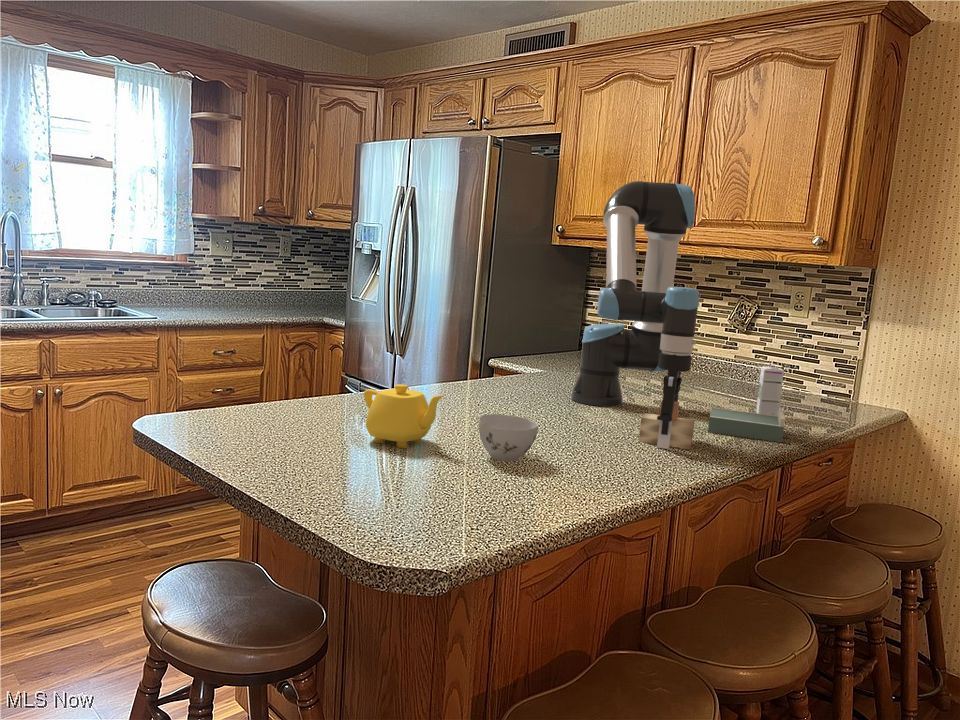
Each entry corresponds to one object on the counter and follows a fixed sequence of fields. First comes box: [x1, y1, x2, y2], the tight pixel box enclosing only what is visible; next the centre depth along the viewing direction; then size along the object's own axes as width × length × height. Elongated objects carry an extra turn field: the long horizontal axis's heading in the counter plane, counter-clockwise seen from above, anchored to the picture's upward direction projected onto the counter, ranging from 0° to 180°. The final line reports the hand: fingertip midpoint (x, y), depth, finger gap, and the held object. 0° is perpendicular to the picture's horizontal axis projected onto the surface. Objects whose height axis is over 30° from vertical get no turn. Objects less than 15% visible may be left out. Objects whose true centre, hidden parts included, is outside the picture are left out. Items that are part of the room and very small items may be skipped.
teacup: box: [478, 413, 539, 463], centre depth 157 cm, size 15×12×8 cm
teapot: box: [363, 383, 445, 449], centre depth 163 cm, size 13×20×12 cm
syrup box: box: [755, 365, 785, 416], centre depth 222 cm, size 6×6×14 cm
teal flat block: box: [707, 407, 786, 443], centre depth 199 cm, size 18×14×6 cm
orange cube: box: [658, 400, 680, 421], centre depth 180 cm, size 4×4×4 cm
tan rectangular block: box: [638, 412, 696, 450], centre depth 180 cm, size 12×6×6 cm, turn 71°
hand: (665, 441), depth 181 cm, fingers open, 12 cm apart
